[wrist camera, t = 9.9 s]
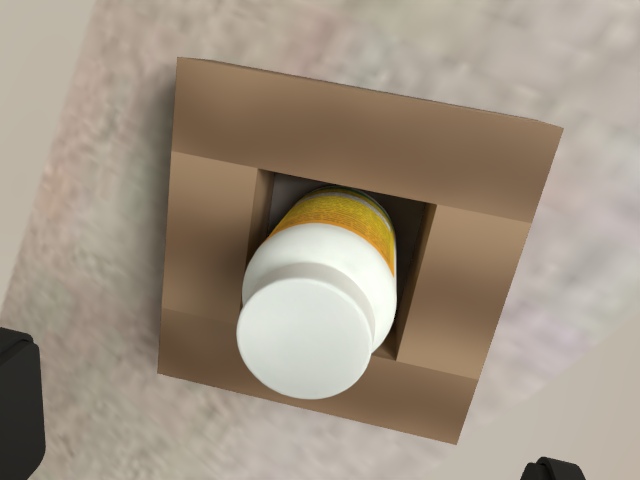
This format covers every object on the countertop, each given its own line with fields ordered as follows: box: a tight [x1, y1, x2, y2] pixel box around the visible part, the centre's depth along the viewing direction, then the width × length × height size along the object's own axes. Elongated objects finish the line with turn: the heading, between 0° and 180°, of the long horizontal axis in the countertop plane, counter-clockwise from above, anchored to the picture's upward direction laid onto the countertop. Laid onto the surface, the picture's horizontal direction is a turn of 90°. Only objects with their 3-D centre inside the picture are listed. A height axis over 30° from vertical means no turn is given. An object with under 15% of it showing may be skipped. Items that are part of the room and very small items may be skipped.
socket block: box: [157, 57, 564, 445], centre depth 21 cm, size 14×14×4 cm
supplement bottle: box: [236, 186, 397, 399], centre depth 18 cm, size 5×5×10 cm
